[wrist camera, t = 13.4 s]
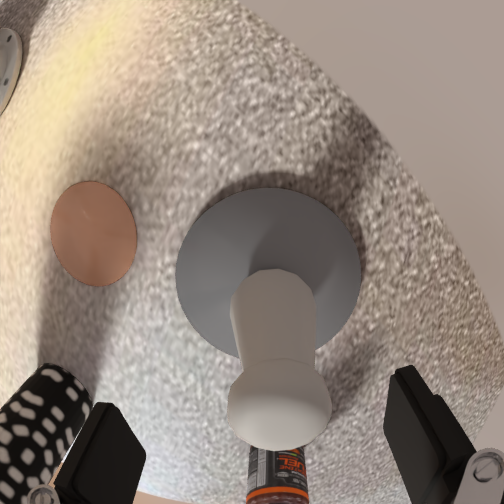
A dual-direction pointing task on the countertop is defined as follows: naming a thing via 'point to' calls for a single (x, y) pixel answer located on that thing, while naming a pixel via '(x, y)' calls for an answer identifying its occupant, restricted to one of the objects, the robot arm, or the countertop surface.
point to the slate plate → (266, 259)
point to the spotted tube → (39, 430)
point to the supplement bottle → (277, 477)
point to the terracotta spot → (93, 233)
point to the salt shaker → (276, 363)
